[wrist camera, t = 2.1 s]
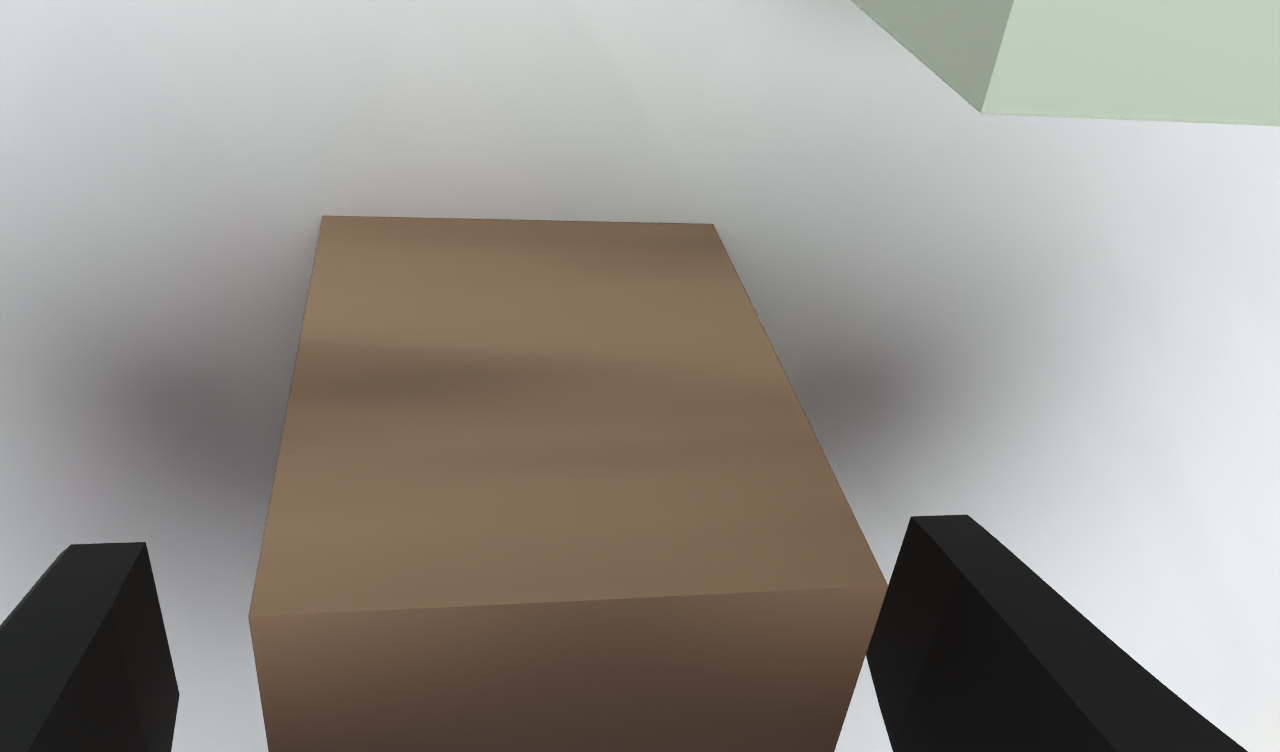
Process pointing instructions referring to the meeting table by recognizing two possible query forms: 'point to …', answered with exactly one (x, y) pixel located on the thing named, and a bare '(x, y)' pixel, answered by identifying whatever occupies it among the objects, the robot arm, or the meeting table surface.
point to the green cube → (1099, 56)
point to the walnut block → (550, 504)
